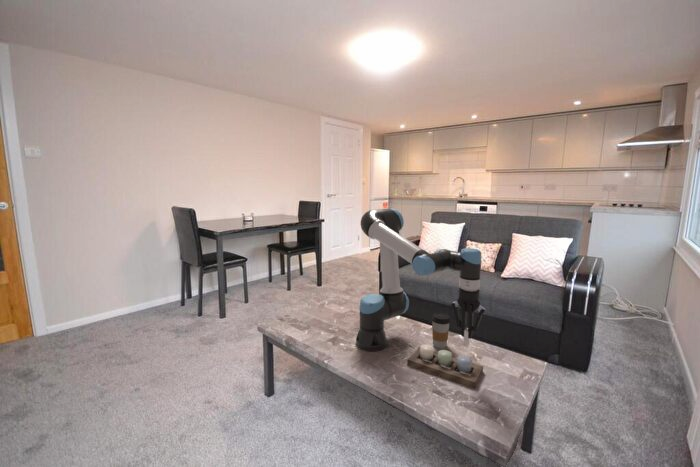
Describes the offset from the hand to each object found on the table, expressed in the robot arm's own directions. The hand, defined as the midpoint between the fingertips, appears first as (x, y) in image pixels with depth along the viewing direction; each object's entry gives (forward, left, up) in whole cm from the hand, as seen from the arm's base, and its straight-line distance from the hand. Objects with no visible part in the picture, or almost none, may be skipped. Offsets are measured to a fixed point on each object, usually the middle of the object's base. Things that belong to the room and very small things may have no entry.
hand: (466, 344), depth 129 cm
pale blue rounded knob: (0, 0, -11) cm, 11 cm away
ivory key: (-16, 0, -11) cm, 19 cm away
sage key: (-8, 0, -11) cm, 13 cm away
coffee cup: (-16, +18, -14) cm, 28 cm away
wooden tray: (-8, 0, -13) cm, 16 cm away
